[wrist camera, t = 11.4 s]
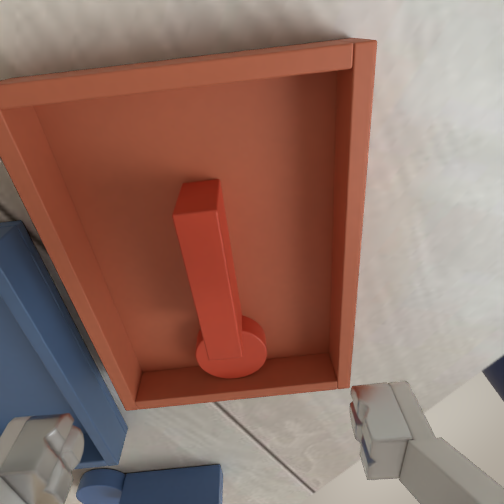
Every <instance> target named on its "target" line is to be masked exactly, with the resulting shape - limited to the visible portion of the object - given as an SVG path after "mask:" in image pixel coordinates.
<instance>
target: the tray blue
mask: <svg viewBox="0 0 504 504" xmlns="http://www.w3.org/2000/svg"><path fill="white" fill-rule="evenodd" d="M64 413H70V414H71V416H72V417H73V418H74V422H73V424H72V425H74V426H76V427H78V428H80V429H81V431H82V433H83V436H84V450H83V454H82V457H81V460H80V463H79V464H78V465H77V466H76V467H75V468H74V469H82V468H92V467H102V466H107V465H108V466H113V465H118V464H119V460H120V456H121V452H122V448H123V445H124V441H125V437H126V434H127V430H128V427H127V425H126V423H125V421H124V419H123V417H122V415H121V413H120V411H119V410H118V408H117V406H116V404H115V402H114V400H113V398H112V396H111V394H110V392H109V390H108V388H107V386H106V384H105V382H104V380H103V378H102V376H101V374H100V373H99V371H98V369H97V367H96V365H95V363H94V361H93V359H92V357H91V355H90V353H89V351H88V349H87V347H86V345H85V343H84V341H83V339H82V337H81V335H80V334H79V332H78V330H77V328H76V326H75V324H74V322H73V320H72V318H71V316H70V314H69V312H68V310H67V308H66V306H65V304H64V302H63V300H62V298H61V297H60V295H59V293H58V291H57V289H56V287H55V285H54V283H53V281H52V279H51V277H50V275H49V273H48V271H47V269H46V267H45V265H44V263H43V261H42V259H41V258H40V256H39V254H38V252H37V250H36V248H35V246H34V244H33V242H32V240H31V238H30V236H29V234H28V232H27V230H26V228H25V226H24V224H23V222H22V221H21V220H20V221H11V222H2V223H0V437H1V435H2V433H3V431H4V430H5V428H6V426H7V425H8V423H9V422H10V421H11V420H13V419H14V418H15V417H26V416H40V415H52V414H64Z"/></svg>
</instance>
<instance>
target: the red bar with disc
mask: <svg viewBox="0 0 504 504" xmlns="http://www.w3.org/2000/svg"><path fill="white" fill-rule="evenodd" d="M172 219H173V223H174V227H175V231H176V235H177V239H178V243H179V246H180V250H181V254H182V258H183V262H184V266H185V270H186V274H187V278H188V282H189V286H190V290H191V293H192V297H193V301H194V305H195V309H196V313H197V317H198V321H199V325H200V330H199V332H198V335H197V343H196V351H195V356H196V360H197V362H198V364H199V366H200V367H201V368H202V369H203V370H204V371H206V372H207V373H209V374H211V375H213V376H216V377H220V378H227V379H234V378H241V377H245V376H248V375H250V374H253V373H254V372H256V371H257V370H259V369H260V368H261V367H262V365H263V364H264V362H265V360H266V358H267V346H266V336H265V332H264V330H263V329H262V327H261V326H260V325H259V324H258V323H257V322H256V321H254V320H253V319H251V318H249V317H246V316H242V312H241V306H240V299H239V293H238V287H237V281H236V275H235V269H234V262H233V256H232V250H231V244H230V238H229V231H228V225H227V219H226V213H225V207H224V200H223V194H222V188H221V182H220V180H219V179H215V180H206V181H198V182H189V183H183V184H182V186H181V189H180V192H179V195H178V198H177V201H176V204H175V207H174V211H173V214H172Z"/></svg>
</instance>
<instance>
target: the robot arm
mask: <svg viewBox="0 0 504 504" xmlns="http://www.w3.org/2000/svg"><path fill="white" fill-rule="evenodd" d="M351 397H352V400H353V401H352V402H351V403H350V418H351V424H352V429H353V433H354V436H355V439H356V440H357V441H359V442H360V443H361V446H360V457H361V461H362V464H363V467H364V471H365V474H366V477H367V480H376V479H393V478H400V479H399V480H400V481H401V483H402V484H403V485H404V486H405V487H406V488H407V489H408V490H409V492H410V493H411V494H412V495H413V496H414V497H415V498H416V499H417V501H418V502H419V503H420V504H504V488H503V487H502V486H501V485H499V484H498V483H497V482H496V481H494V480H493V479H492V478H491V477H490V476H488V475H487V474H486V473H484V472H483V471H482V470H481V469H480V468H478V467H477V466H476V465H475V464H473V463H472V462H471V461H470V460H469V459H467V458H466V457H465V456H463V455H462V454H461V453H460V452H459V451H457V450H456V449H455V448H454V447H452V446H451V445H450V444H449V443H447V442H446V441H445V440H444V439H443V438H436V437H435V436H434V434H433V432H432V429H431V427H430V425H429V423H428V421H427V419H426V417H425V415H424V413H423V411H422V409H421V407H420V405H419V403H418V401H417V399H416V397H415V395H414V393H413V391H412V389H411V387H410V385H409V384H408V383H407V382H406V381H400V382H391V383H376V384H367V385H358V386H352V388H351ZM73 422H74V418H73V417H72V416H71V414H70V413H64V414H52V415H40V416H26V417H15V418H14V419H13V420H11V421H10V422H9V423H8V425H7V426H6V428H5V430H4V431H3V433H2V435H1V437H0V504H64V503H65V501H66V498H67V495H68V493H69V490H70V487H71V485H72V482H73V477H72V473H71V471H72V470H73V469H74V468H75V467H76V466H77V465H78V464H79V463H80V460H81V457H82V454H83V450H84V436H83V433H82V431H81V429H80V428H78V427H76V426H74V425H72V424H73Z"/></svg>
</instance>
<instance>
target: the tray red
mask: <svg viewBox="0 0 504 504" xmlns="http://www.w3.org/2000/svg"><path fill="white" fill-rule="evenodd" d="M376 50H377V41H376V40H370V39H359V38H347V39H339V40H330V41H322V42H313V43H305V44H297V45H288V46H280V47H271V48H263V49H254V50H246V51H237V52H229V53H220V54H212V55H203V56H195V57H187V58H178V59H170V60H161V61H153V62H144V63H136V64H127V65H119V66H110V67H102V68H93V69H85V70H76V71H68V72H60V73H51V74H43V75H34V76H26V77H17V78H10V79H5V80H1V81H0V157H1V159H2V161H3V163H4V165H5V167H6V169H7V171H8V173H9V175H10V177H11V179H12V181H13V183H14V186H15V188H16V190H17V192H18V194H19V196H20V198H21V200H22V202H23V204H24V206H25V208H26V210H27V212H28V214H29V216H30V218H31V220H32V222H33V224H34V226H35V228H36V230H37V232H38V234H39V236H40V238H41V240H42V242H43V244H44V246H45V248H46V250H47V252H48V254H49V256H50V258H51V260H52V262H53V264H54V266H55V268H56V270H57V272H58V274H59V276H60V278H61V280H62V282H63V284H64V286H65V288H66V291H67V293H68V295H69V297H70V299H71V301H72V303H73V305H74V307H75V309H76V311H77V313H78V315H79V317H80V319H81V321H82V323H83V325H84V327H85V329H86V331H87V333H88V335H89V337H90V339H91V341H92V343H93V345H94V347H95V349H96V351H97V353H98V355H99V357H100V359H101V361H102V363H103V365H104V367H105V369H106V371H107V373H108V375H109V377H110V379H111V381H112V383H113V385H114V387H115V389H116V391H117V394H118V396H119V398H120V400H121V402H122V404H123V406H124V408H125V410H126V411H128V410H137V409H148V408H158V407H167V406H177V405H187V404H197V403H207V402H217V401H226V400H236V399H246V398H256V397H266V396H276V395H285V394H295V393H305V392H315V391H325V390H335V389H344V388H349V387H350V376H351V363H352V351H353V338H354V326H355V313H356V301H357V288H358V276H359V263H360V251H361V238H362V226H363V213H364V201H365V188H366V176H367V163H368V150H369V138H370V125H371V113H372V100H373V88H374V75H375V63H376ZM215 179H219V180H220V182H221V188H222V194H223V200H224V207H225V213H226V219H227V225H228V231H229V238H230V244H231V250H232V256H233V262H234V269H235V275H236V281H237V287H238V293H239V299H240V306H241V312H242V316H246V317H249V318H251V319H253V320H254V321H256V322H257V323H258V324H259V325H260V326H261V327H262V329H263V330H264V332H265V336H266V346H267V358H266V360H265V362H264V364H263V365H262V367H261V368H260V369H259V370H257V371H256V372H254V373H253V374H250V375H248V376H245V377H241V378H234V379H227V378H220V377H216V376H213V375H211V374H209V373H207V372H206V371H204V370H203V369H202V368H201V367H200V366H199V364H198V362H197V360H196V356H195V351H196V343H197V335H198V332H199V330H200V325H199V321H198V317H197V313H196V309H195V305H194V301H193V297H192V293H191V290H190V286H189V282H188V278H187V274H186V270H185V266H184V262H183V258H182V254H181V250H180V246H179V243H178V239H177V235H176V231H175V227H174V223H173V219H172V214H173V211H174V207H175V204H176V201H177V198H178V195H179V192H180V189H181V186H182V184H183V183H189V182H198V181H206V180H215Z"/></svg>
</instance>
